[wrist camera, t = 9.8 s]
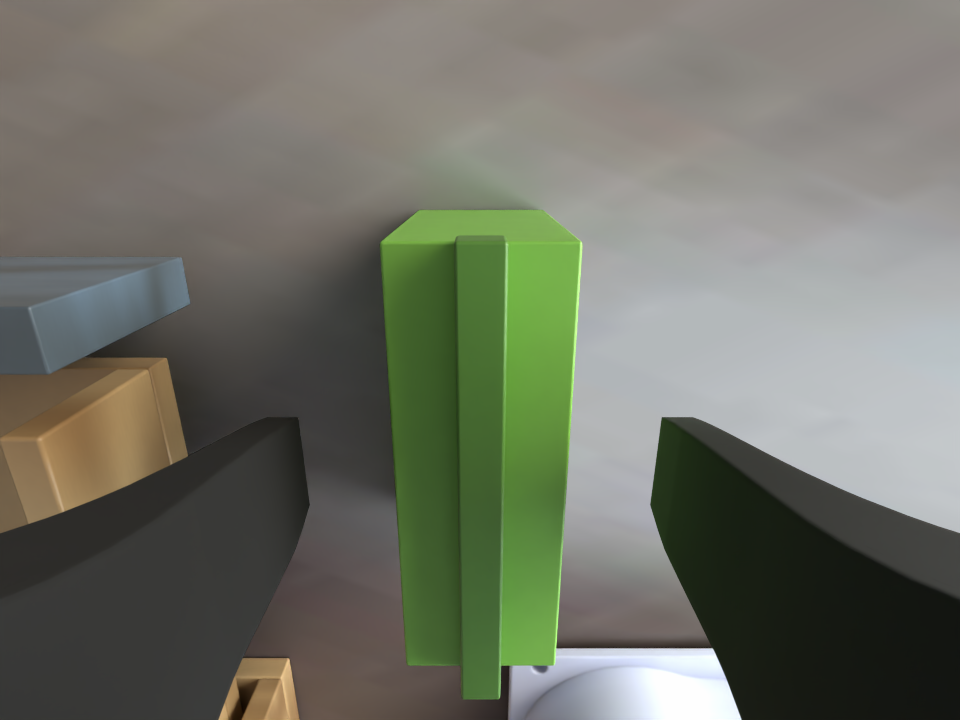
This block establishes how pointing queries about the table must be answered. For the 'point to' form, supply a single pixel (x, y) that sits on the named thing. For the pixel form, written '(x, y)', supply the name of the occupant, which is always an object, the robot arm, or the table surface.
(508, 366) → the green ridged box
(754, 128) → the table surface
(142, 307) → the drawer
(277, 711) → the cabinet
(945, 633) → the robot arm
